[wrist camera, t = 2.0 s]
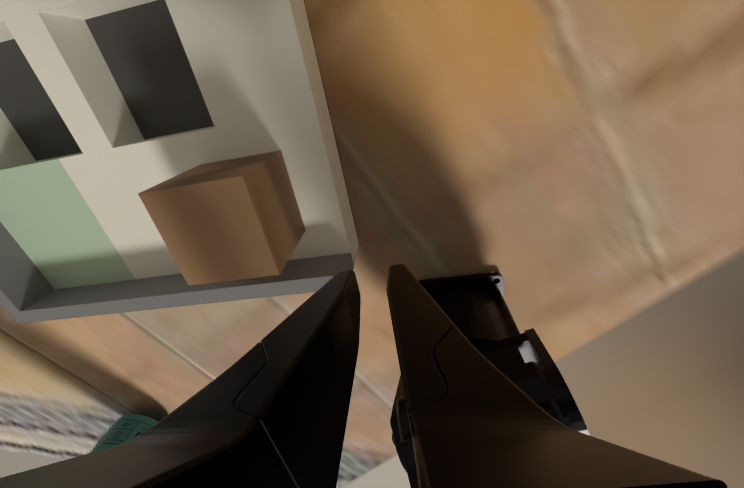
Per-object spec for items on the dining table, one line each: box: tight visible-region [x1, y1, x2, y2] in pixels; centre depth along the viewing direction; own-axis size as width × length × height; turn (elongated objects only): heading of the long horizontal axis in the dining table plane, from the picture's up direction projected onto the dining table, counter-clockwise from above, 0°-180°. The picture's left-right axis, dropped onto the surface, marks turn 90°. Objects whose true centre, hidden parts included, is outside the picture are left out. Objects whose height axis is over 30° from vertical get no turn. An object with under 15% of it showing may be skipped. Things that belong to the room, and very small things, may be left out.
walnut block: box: [138, 150, 305, 286], centre depth 17 cm, size 5×5×5 cm
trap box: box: [0, 0, 359, 324], centre depth 19 cm, size 24×18×6 cm
